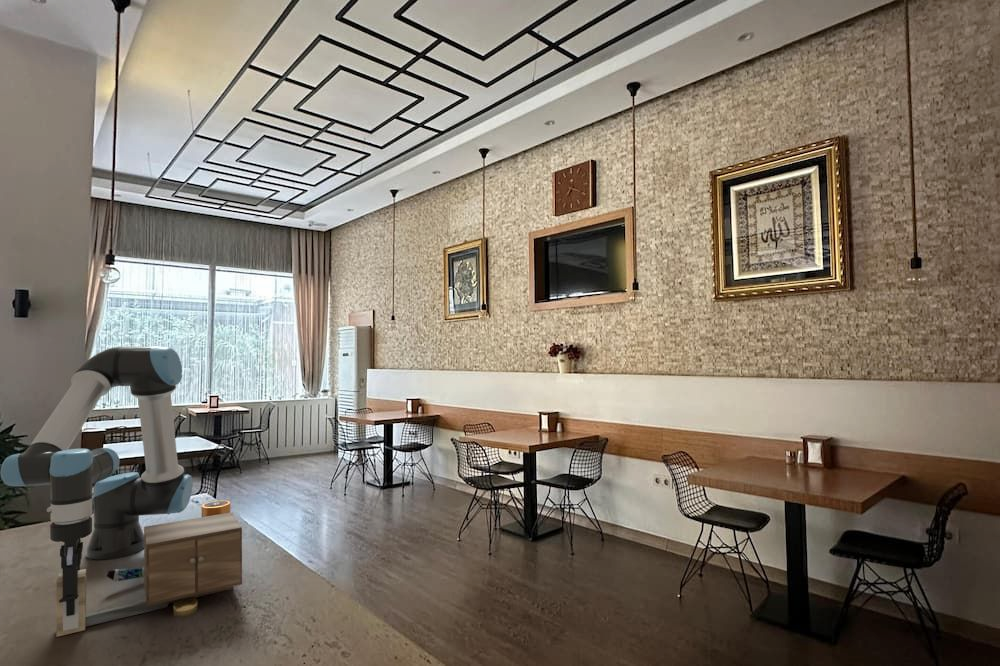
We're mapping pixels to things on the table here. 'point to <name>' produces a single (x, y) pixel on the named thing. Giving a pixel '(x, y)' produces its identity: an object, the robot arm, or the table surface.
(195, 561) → the cabinet
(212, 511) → the battery
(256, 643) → the table surface
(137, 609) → the blade tool
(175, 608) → the token
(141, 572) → the knife
